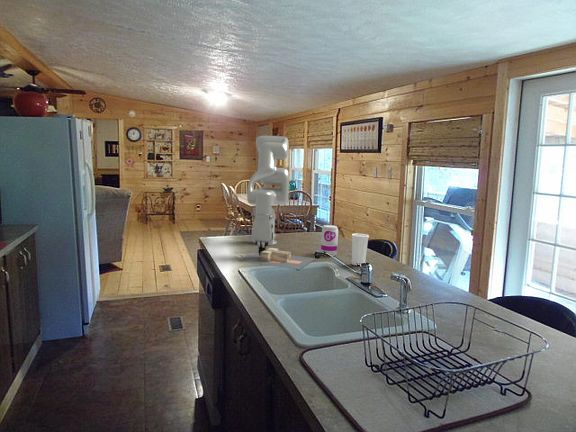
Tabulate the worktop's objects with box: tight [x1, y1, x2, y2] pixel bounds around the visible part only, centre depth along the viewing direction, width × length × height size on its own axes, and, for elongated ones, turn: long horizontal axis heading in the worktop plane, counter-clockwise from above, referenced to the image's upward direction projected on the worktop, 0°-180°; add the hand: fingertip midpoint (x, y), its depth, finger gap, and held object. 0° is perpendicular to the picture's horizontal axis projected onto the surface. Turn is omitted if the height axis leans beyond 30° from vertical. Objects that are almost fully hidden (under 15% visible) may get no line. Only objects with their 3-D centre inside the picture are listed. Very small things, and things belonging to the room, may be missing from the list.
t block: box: [260, 247, 292, 262], centre depth 205 cm, size 12×12×4 cm
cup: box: [351, 233, 370, 266], centre depth 203 cm, size 8×8×14 cm
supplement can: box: [320, 224, 339, 257], centre depth 221 cm, size 8×8×15 cm
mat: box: [238, 252, 317, 271], centre depth 206 cm, size 24×30×1 cm
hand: (261, 255), depth 209 cm, fingers closed
